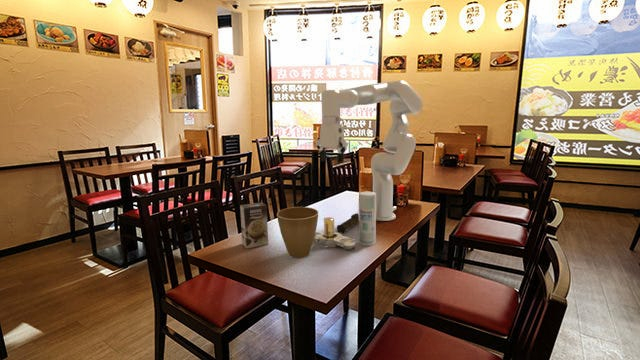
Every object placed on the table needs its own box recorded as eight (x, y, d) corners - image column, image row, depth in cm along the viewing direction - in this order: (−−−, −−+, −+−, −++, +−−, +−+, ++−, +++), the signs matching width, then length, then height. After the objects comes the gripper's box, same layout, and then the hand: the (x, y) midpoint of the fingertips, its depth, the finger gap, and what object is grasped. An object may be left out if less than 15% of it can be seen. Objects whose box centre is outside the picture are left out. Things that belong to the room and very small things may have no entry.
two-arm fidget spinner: (316, 233, 151) (315, 226, 151) (361, 246, 135) (361, 239, 134) (300, 239, 145) (300, 232, 144) (346, 253, 128) (346, 246, 128)
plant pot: (275, 249, 134) (273, 209, 131) (313, 244, 138) (312, 205, 135) (282, 265, 120) (280, 220, 117) (324, 259, 124) (323, 215, 121)
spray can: (377, 240, 141) (377, 191, 137) (374, 246, 135) (374, 195, 131) (361, 238, 143) (361, 190, 140) (357, 244, 137) (357, 194, 134)
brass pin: (329, 240, 142) (328, 216, 140) (336, 242, 140) (336, 218, 138) (322, 243, 139) (321, 219, 137) (329, 245, 137) (329, 221, 135)
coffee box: (246, 249, 135) (243, 208, 132) (241, 243, 141) (239, 204, 138) (269, 244, 140) (267, 205, 137) (263, 239, 145) (261, 201, 142)
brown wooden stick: (344, 234, 150) (344, 224, 149) (336, 233, 152) (336, 222, 151) (363, 222, 165) (364, 213, 164) (356, 221, 167) (356, 212, 167)
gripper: (353, 120, 142) (353, 162, 146) (321, 120, 154) (322, 159, 157) (341, 121, 137) (341, 164, 140) (309, 121, 149) (310, 161, 152)
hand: (331, 161), depth 149 cm, fingers open, 9 cm apart
